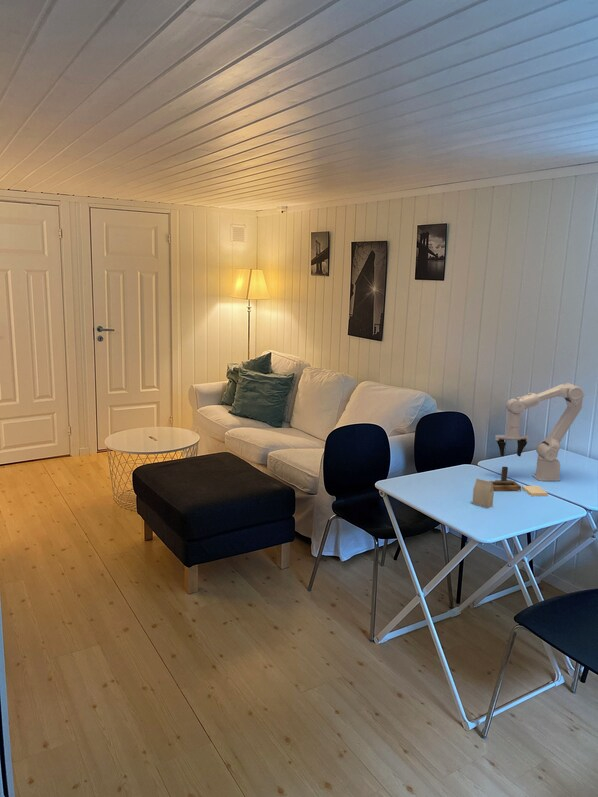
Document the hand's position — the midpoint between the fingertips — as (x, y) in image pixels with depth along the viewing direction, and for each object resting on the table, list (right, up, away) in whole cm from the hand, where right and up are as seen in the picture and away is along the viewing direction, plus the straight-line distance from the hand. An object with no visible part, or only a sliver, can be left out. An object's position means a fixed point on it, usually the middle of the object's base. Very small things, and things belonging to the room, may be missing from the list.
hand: (510, 455), depth 275 cm
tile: (+4, -12, -13) cm, 18 cm away
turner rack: (-7, -13, -12) cm, 19 cm away
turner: (-7, -13, -12) cm, 19 cm away
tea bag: (-22, -17, -32) cm, 42 cm away
